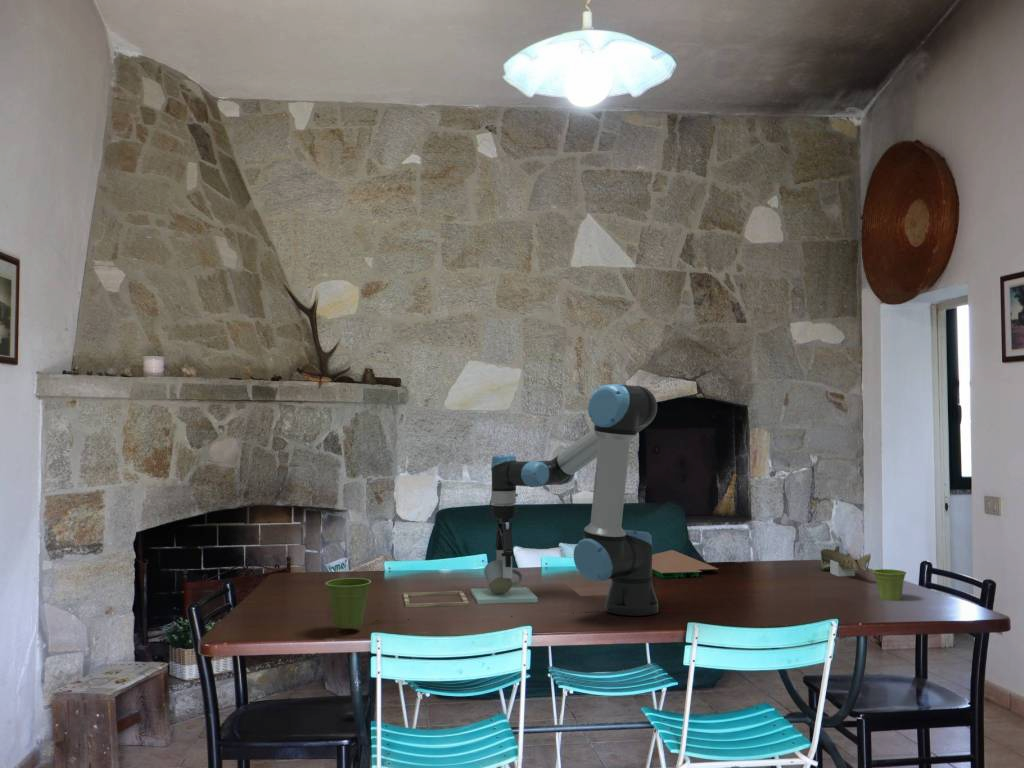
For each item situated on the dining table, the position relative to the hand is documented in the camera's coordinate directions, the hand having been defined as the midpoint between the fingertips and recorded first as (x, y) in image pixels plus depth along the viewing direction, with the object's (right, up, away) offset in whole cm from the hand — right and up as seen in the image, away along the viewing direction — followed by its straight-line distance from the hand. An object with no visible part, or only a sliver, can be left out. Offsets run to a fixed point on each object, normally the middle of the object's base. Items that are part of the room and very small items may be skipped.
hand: (504, 574), depth 270 cm
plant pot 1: (-41, -5, -39) cm, 57 cm away
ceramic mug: (0, -6, 0) cm, 6 cm away
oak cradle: (-21, -7, -5) cm, 22 cm away
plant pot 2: (+117, -8, -2) cm, 118 cm away
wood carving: (+118, -9, +35) cm, 123 cm away
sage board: (0, -7, 0) cm, 7 cm away
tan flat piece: (+61, -10, +48) cm, 79 cm away
